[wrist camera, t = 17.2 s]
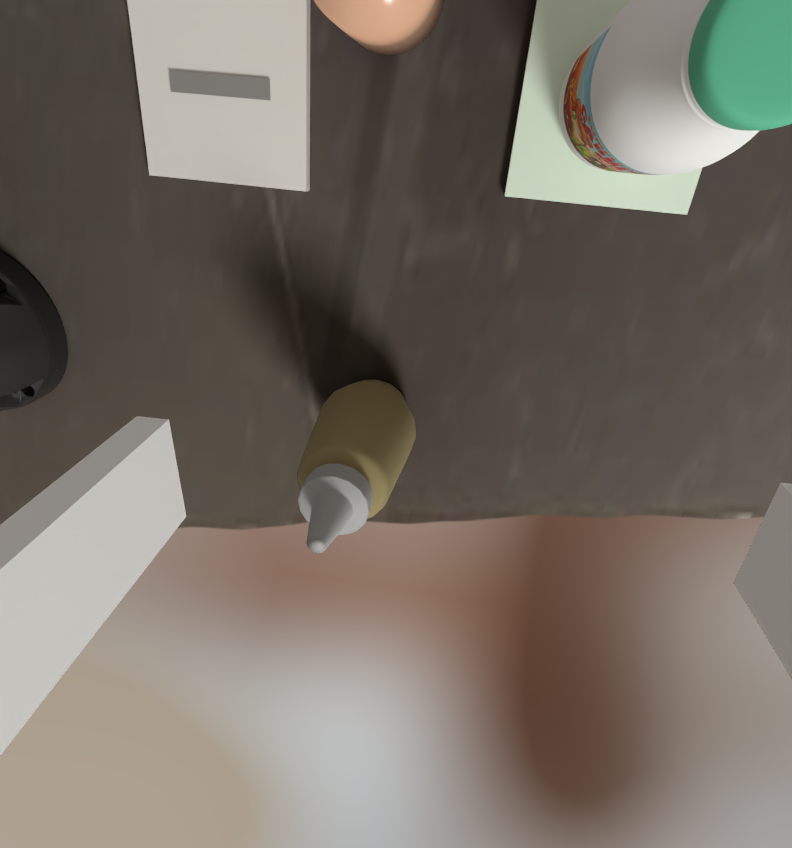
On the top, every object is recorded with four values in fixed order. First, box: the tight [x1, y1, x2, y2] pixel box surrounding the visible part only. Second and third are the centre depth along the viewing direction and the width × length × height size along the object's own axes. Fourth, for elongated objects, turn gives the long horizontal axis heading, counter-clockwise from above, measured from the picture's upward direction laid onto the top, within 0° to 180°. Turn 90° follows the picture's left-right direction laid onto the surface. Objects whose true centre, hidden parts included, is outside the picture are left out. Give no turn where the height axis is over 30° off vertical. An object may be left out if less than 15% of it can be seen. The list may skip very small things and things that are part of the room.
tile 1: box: [127, 0, 310, 191], centre depth 35 cm, size 12×12×1 cm
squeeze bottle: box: [297, 379, 416, 553], centre depth 38 cm, size 8×8×18 cm
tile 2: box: [504, 0, 702, 215], centre depth 33 cm, size 12×12×1 cm
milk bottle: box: [559, 0, 792, 175], centre depth 23 cm, size 8×8×20 cm
